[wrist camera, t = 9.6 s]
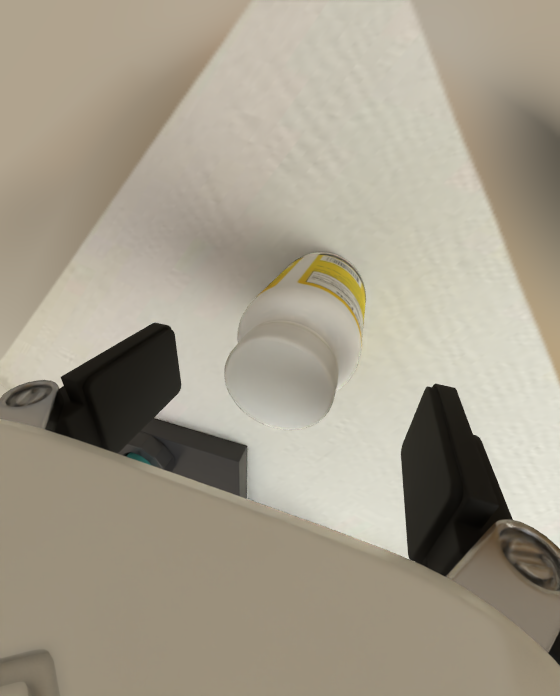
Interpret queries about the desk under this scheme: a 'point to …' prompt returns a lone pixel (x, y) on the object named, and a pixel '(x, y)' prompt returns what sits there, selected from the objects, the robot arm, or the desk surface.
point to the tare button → (137, 458)
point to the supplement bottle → (298, 342)
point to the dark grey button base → (192, 455)
